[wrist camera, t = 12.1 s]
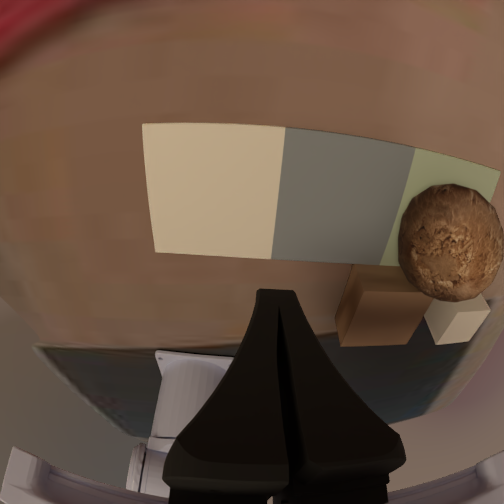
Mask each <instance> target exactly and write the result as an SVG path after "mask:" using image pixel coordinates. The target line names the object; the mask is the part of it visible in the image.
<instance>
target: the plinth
mask: <svg viewBox="0 0 504 504" xmlns="http://www.w3.org/2000/svg"><path fill="white" fill-rule="evenodd" d="M433 299H434V298H432V297H429V296H427V295H424V294H423V293H422V292H421V291H420V290H418V289H417V288H416V287H415V286H413V285H412V284H411V283H410V282H409V281H408V280H407V278H406V276H405V274H404V272H403V270H402V268H401V266H384V265H365V264H353V266H352V269H351V272H350V276H349V279H348V282H347V285H346V287H345V290H344V293H343V296H342V299H341V302H340V305H339V308H338V310H337V313H336V316H335V322H336V326H337V331H338V336H339V341H340V346H341V347H343V346H380V345H400V344H407V342H408V341H409V339H410V338H411V336H412V334H413V333H414V331H415V330H416V328H417V326H418V325H419V323H420V321H421V320H422V318H423V316H424V315H425V313H426V311H427V309H428V308H429V306H430V304H431V302H432V301H433Z"/></svg>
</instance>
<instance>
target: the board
mask: <svg viewBox="0 0 504 504" xmlns="http://www.w3.org/2000/svg"><path fill="white" fill-rule="evenodd" d="M142 132H143V147H144V159H145V170H146V181H147V190H148V199H149V208H150V216H151V223H152V231H153V238H154V245H155V251H156V252H163V253H178V254H194V255H210V256H227V257H243V258H260V259H277V260H294V261H311V262H329V263H347V264H365V265H384V266H400V265H399V262H398V234H399V229H400V223H401V218H402V215H403V213H404V212H405V210H406V208H407V206H408V205H409V203H410V201H411V199H412V198H413V197H415V196H416V195H418V194H419V193H421V192H422V191H424V190H426V189H427V188H429V187H430V186H433V185H442V184H452V183H454V184H457V185H461V186H464V187H468V188H471V189H474V190H477V191H478V192H479V193H480V194H481V195H482V196H483V197H484V198H485V199H486V200H487V201H488V202H489V203H490V201H491V198H492V196H493V193H494V190H495V188H496V185H497V182H498V179H499V176H500V173H501V171H499V170H496V169H493V168H490V167H487V166H484V165H480V164H477V163H474V162H471V161H467V160H464V159H460V158H456V157H453V156H449V155H445V154H441V153H437V152H433V151H429V150H425V149H421V148H416V147H412V146H407V145H403V144H398V143H393V142H388V141H383V140H377V139H372V138H366V137H360V136H354V135H348V134H341V133H334V132H326V131H319V130H310V129H301V128H291V127H281V126H268V125H254V124H235V123H191V122H186V123H144V124H142Z"/></svg>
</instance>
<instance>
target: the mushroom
mask: <svg viewBox="0 0 504 504" xmlns="http://www.w3.org/2000/svg"><path fill="white" fill-rule="evenodd" d="M503 247H504V235H503V229H502V227H501V224H500V221H499V218H498V215H497V213H496V210H495V208H494V207H493V206H492V205H491V204H490V203H489V202H488V201H487V200H486V199H485V198H484V197H483V196H482V195H481V194H480V193H479V192H478V191H477V190H474V189H471V188H468V187H464V186H461V185H457V184H454V183H452V184H442V185H433V186H430V187H429V188H427V189H426V190H424V191H422V192H421V193H419V194H418V195H416V196H415V197H413V198H412V199H411V201H410V203H409V205H408V206H407V208H406V210H405V212H404V213H403V215H402V218H401V223H400V229H399V234H398V262H399V265H400V266H401V268H402V270H403V272H404V274H405V276H406V278H407V280H408V281H409V282H410V283H411V284H412V285H413V286H415V287H416V288H417V289H418V290H420V291H421V292H422V293H423V294H424V295H427V296H429V297H432V298H434V299H437V300H439V301H446V302H455V303H456V302H460V301H465V300H469V299H474V298H476V297H477V296H478V295H479V294H480V293H481V292H483V291H484V290H485V289H486V288H487V287H488V286H489V285H490V284H491V283H492V282H493V280H494V278H495V276H496V274H497V271H498V269H499V267H500V264H501V262H502V260H503Z"/></svg>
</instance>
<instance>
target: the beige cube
mask: <svg viewBox="0 0 504 504" xmlns="http://www.w3.org/2000/svg"><path fill="white" fill-rule="evenodd" d="M490 311H491V310H490V308H489V306H488V305H487V303H486V301H485V300H484V298H483V296H482V294H481V293H480V294H479V295H478V296H477V297H476V298H474V299H469V300H465V301H460V302H456V303H455V302H446V301H439V300H437V299H433V301H432V302H431V304H430V306H429V308H428V309H427V311H426V313H425V315H424V317H425V320H426V322H427V324H428V327H429V329H430V331H431V334H432V336H433V339H434V341H435V344H436V345H439V344H449V343H458V342H466V341H469V340H470V339H471V337H472V336H473V335H474V333H475V332H476V331H477V329H478V328H479V326H480V325H481V324H482V322H483V321H484V319H485V318H486V316H487V315H488V314H489V312H490Z"/></svg>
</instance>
